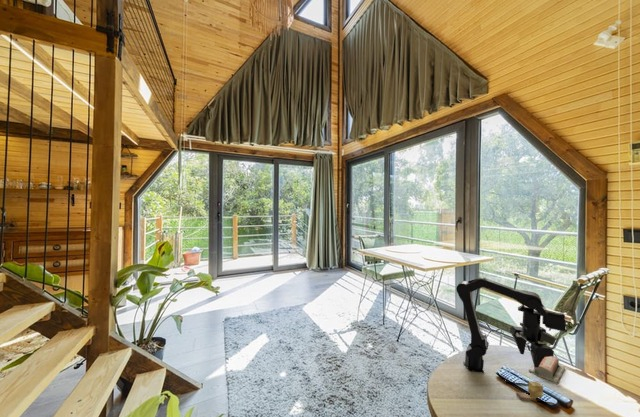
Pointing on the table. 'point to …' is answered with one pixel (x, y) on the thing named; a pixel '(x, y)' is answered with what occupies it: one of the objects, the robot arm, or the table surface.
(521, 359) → the table surface
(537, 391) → the stub
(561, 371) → the packaged product
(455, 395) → the table surface
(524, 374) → the ticket
